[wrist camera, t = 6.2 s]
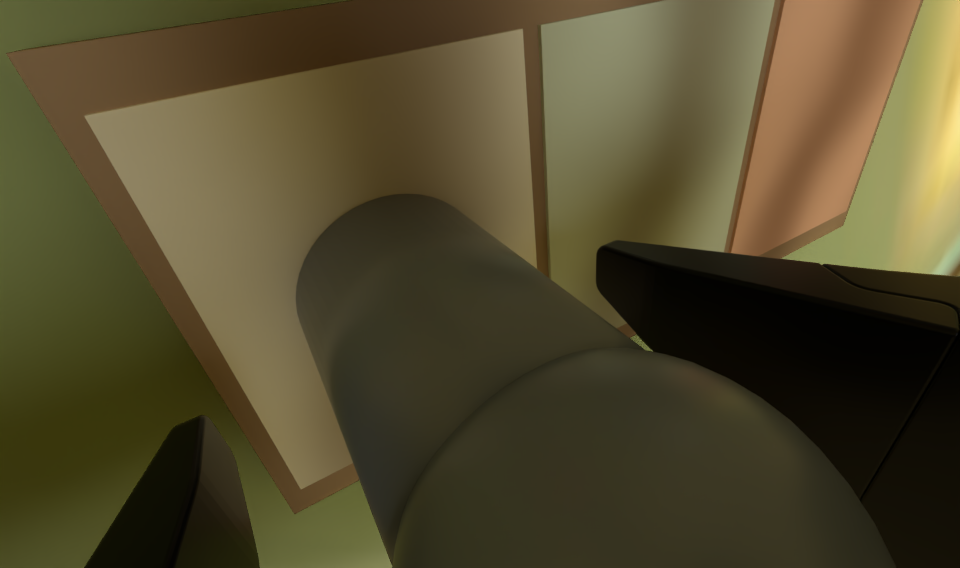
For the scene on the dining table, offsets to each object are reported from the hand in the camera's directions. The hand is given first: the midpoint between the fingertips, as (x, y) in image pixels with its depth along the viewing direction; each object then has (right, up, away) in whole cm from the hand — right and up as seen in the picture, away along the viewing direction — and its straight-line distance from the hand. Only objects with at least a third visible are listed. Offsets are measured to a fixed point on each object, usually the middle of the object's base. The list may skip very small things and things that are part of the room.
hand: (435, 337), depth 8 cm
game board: (+5, +4, +5) cm, 8 cm away
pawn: (-1, +1, +1) cm, 2 cm away
